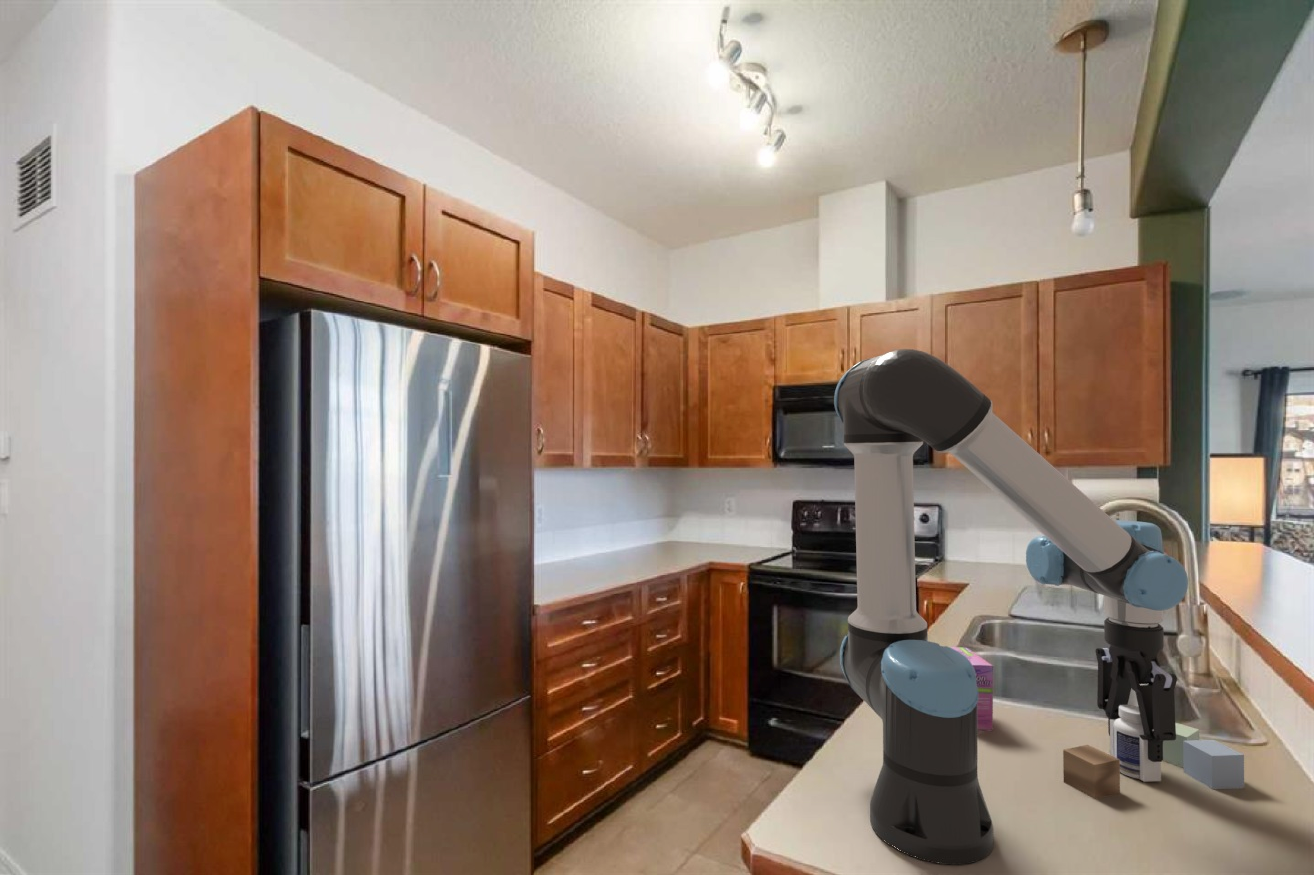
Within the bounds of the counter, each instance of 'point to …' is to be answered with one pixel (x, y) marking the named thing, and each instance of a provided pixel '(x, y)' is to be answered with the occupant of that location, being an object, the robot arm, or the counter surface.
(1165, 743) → the sage cube
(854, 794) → the counter surface
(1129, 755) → the pill bottle
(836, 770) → the counter surface
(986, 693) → the box
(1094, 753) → the walnut cube
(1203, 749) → the slate blue cube
